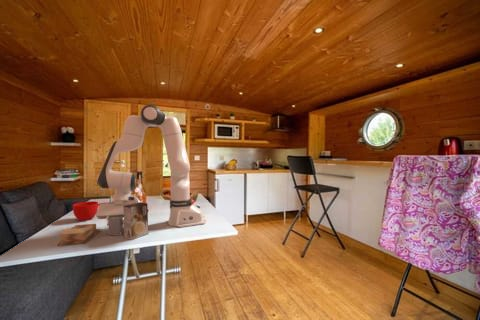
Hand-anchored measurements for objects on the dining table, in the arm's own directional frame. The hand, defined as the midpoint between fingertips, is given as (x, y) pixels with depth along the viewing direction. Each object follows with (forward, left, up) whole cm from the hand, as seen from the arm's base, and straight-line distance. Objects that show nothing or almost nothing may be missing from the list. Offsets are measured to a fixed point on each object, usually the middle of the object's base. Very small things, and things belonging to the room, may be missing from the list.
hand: (115, 224), depth 108 cm
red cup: (+24, -32, -5) cm, 40 cm away
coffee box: (-11, +6, -5) cm, 13 cm away
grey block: (0, 0, -5) cm, 5 cm away
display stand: (+15, +2, -5) cm, 16 cm away
